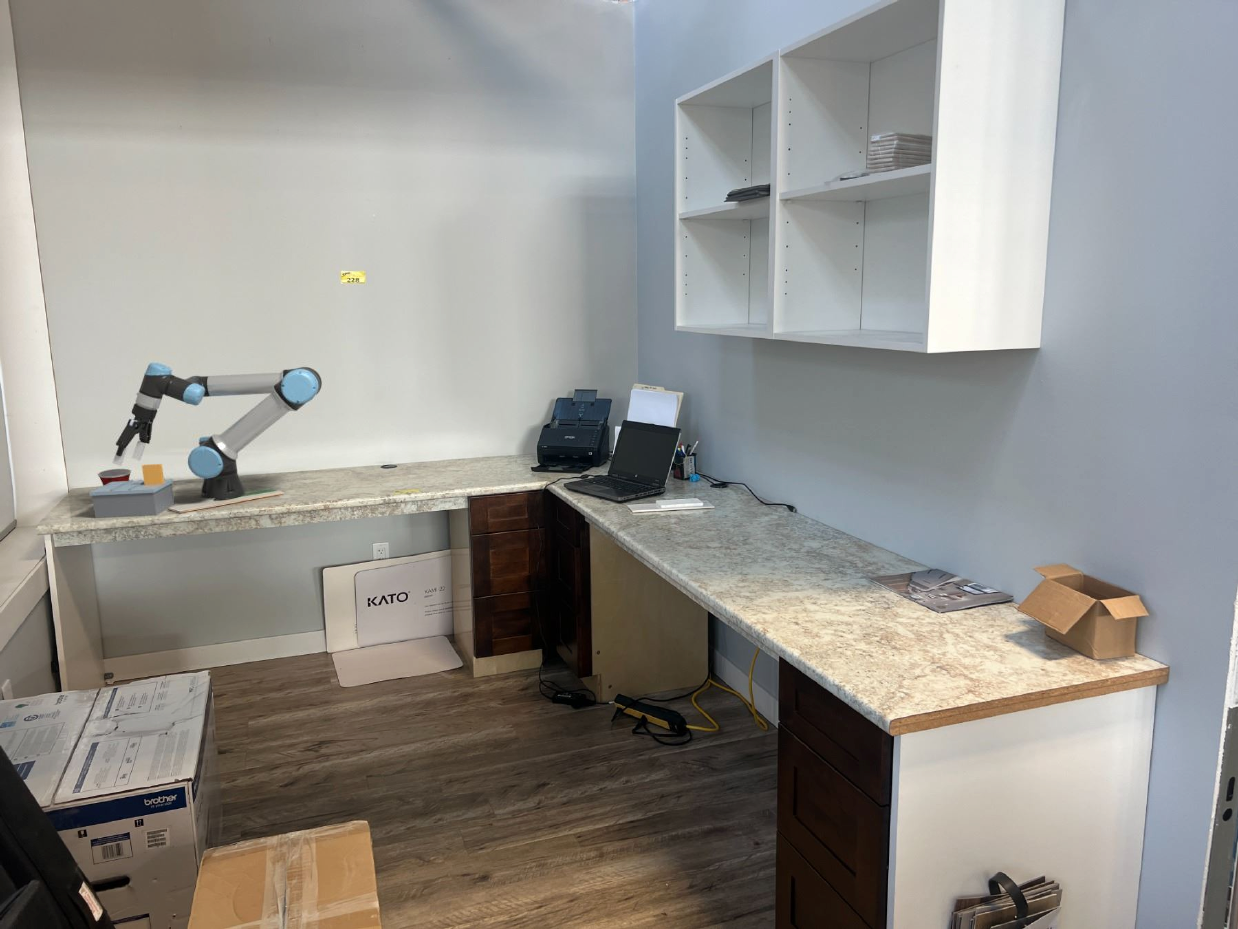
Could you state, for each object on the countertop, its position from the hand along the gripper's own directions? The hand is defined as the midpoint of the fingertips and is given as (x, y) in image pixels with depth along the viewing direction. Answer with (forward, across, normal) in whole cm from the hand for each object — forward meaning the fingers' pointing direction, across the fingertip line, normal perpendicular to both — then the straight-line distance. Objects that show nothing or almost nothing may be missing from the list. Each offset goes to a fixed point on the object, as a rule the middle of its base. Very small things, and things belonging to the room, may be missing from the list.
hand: (126, 461), depth 307 cm
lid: (+7, +5, +7) cm, 11 cm away
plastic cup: (+20, -13, -3) cm, 24 cm away
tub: (+15, +4, +11) cm, 19 cm away
